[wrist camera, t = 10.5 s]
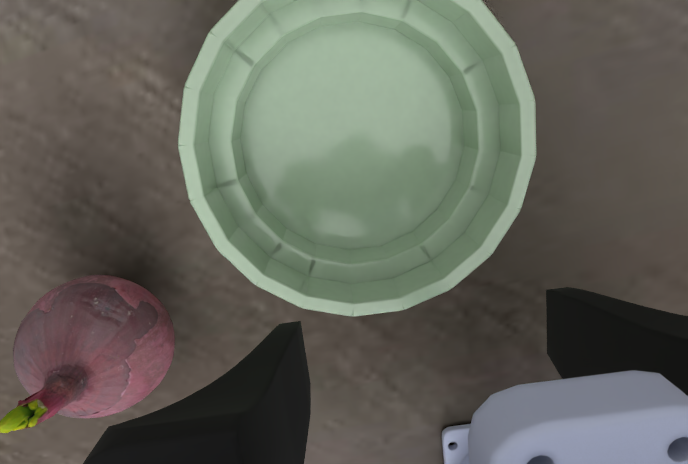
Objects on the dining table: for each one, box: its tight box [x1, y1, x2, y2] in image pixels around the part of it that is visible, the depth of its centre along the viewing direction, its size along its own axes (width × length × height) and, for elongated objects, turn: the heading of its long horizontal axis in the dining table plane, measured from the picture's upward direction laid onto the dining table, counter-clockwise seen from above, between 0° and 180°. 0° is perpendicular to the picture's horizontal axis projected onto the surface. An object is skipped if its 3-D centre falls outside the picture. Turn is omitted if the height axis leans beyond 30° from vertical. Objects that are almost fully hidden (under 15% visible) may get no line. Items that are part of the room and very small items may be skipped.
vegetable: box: [0, 275, 175, 433], centre depth 20 cm, size 6×6×10 cm
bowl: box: [178, 0, 536, 316], centre depth 20 cm, size 13×13×5 cm
